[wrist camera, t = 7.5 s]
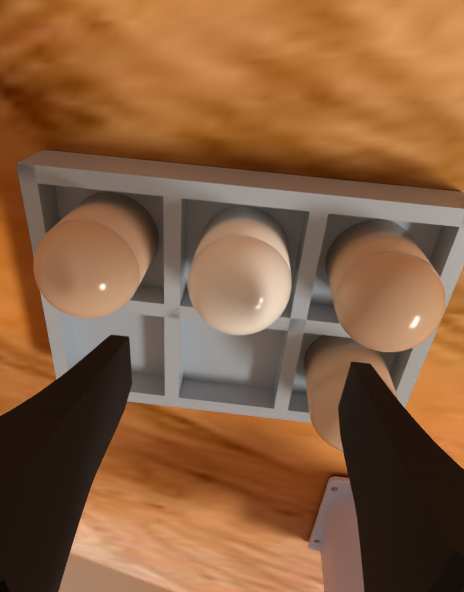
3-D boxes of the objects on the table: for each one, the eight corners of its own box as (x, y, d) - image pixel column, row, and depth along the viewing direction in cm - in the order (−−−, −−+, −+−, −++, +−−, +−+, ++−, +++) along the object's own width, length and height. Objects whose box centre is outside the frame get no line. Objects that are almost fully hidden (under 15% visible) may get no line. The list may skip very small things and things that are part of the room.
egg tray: (384, 400, 27) (394, 432, 25) (76, 364, 28) (59, 393, 25) (461, 191, 20) (485, 210, 18) (44, 149, 20) (16, 163, 18)
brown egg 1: (159, 277, 22) (127, 345, 18) (77, 268, 23) (23, 333, 18) (158, 196, 20) (121, 248, 15) (67, 187, 20) (1, 236, 15)
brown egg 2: (402, 303, 22) (440, 380, 17) (317, 294, 22) (331, 368, 17) (429, 224, 20) (481, 286, 15) (335, 215, 20) (355, 273, 15)
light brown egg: (280, 292, 22) (283, 363, 17) (197, 281, 22) (177, 349, 17) (295, 212, 20) (304, 267, 15) (203, 200, 20) (181, 251, 15)
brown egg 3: (371, 392, 25) (395, 478, 20) (298, 384, 26) (304, 467, 21) (391, 334, 23) (424, 414, 18) (310, 325, 23) (321, 403, 18)
